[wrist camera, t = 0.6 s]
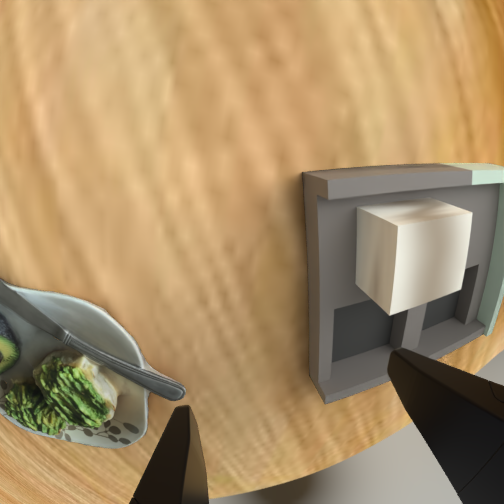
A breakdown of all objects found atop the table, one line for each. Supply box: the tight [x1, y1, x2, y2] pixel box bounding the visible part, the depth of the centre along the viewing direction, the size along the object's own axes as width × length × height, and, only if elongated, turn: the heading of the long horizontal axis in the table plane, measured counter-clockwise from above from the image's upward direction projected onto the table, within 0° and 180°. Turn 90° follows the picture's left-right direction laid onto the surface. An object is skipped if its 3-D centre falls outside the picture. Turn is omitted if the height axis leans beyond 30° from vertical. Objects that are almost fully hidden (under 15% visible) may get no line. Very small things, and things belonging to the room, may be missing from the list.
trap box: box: [302, 163, 504, 404], centre depth 20 cm, size 19×16×4 cm
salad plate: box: [0, 278, 186, 448], centre depth 17 cm, size 19×18×5 cm
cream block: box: [355, 197, 472, 316], centre depth 16 cm, size 6×5×4 cm
